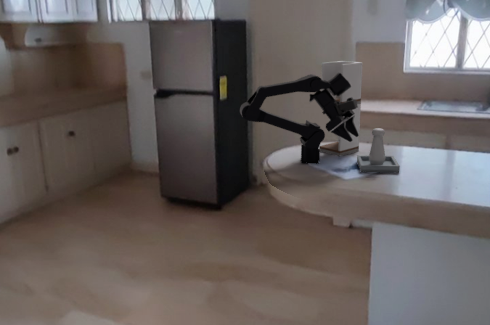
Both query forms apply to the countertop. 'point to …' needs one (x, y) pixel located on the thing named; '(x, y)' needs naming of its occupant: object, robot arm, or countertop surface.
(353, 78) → the display case
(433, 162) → the countertop surface
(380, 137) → the salt shaker
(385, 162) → the tray
